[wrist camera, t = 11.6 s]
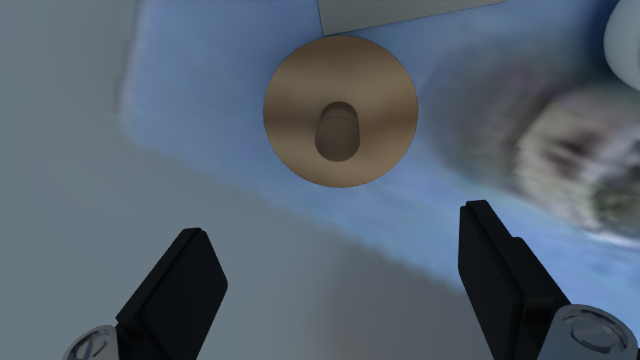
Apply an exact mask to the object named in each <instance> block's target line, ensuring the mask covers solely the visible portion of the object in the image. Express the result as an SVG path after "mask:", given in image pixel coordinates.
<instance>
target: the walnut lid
mask: <svg viewBox="0 0 640 360" xmlns="http://www.w3.org/2000/svg"><path fill="white" fill-rule="evenodd" d="M263 117H264V125H265V130H266V134H267V137H268V140H269V142H270V144H271V146H272V148H273V150H274V151H275V153H276V154H277V156H278V157H279V159H280V160H281V161H282V162H283V163H284V164H285V165H286V166H287V167H288V168H289V169H290V170H291V171H293V172H294V173H295V174H297V175H298V176H300V177H302V178H304V179H305V180H308V181H310V182H312V183H315V184H319V185H322V186H328V187H338V188H343V187H353V186H358V185H362V184H365V183H368V182H370V181H373V180H375V179H377V178H379V177H380V176H382V175H384V174H385V173H386V172H388V171H389V170H390V169H392V168H393V167H394V166H395V165H396V164H397V163H398V162H399V161H400V159H401V158H402V157H403V156H404V154H405V153H406V151H407V149H408V148H409V146H410V144H411V142H412V139H413V137H414V134H415V130H416V126H417V120H418V103H417V96H416V92H415V88H414V86H413V83H412V81H411V78H410V77H409V75H408V73H407V71H406V70H405V68H404V67H403V66H402V65H401V63H400V62H399V61H398V60H397V59H396V58H395V57H394V56H393V55H392V54H391V53H390V52H388V51H387V50H385V49H384V48H383V47H381V46H380V45H378V44H376V43H374V42H371V41H369V40H366V39H363V38H360V37H354V36H346V35H336V36H328V37H324V38H320V39H316V40H314V41H311V42H309V43H307V44H305V45H303V46H302V47H300V48H298V49H297V50H295V51H294V52H293V53H292V54H290V55H289V56H288V57H287V58H286V59H285V60H284V61H283V62H282V63H281V64H280V66H279V67H278V68H277V70H276V71H275V73H274V74H273V76H272V78H271V80H270V82H269V85H268V88H267V91H266V94H265V99H264V108H263Z"/></svg>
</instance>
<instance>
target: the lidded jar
mask: <svg viewBox="0 0 640 360" xmlns="http://www.w3.org/2000/svg"><path fill="white" fill-rule="evenodd" d="M603 44H604V53H605V57H606V60H607V63H608V65H609V66H610V68H611V70H612V71H613V72H614V74H615V75H616V76H617V77H618V78H619V79H620V80H622V81H623V82H625V83H626V84H628V85H629V86H631V87H632V88H634V89H636V90H638V91H640V0H619V2H618V3H617V5H616V6H615V8H614V10H613V11H612V13H611V15H610V17H609V20H608V22H607V25H606V29H605V33H604V42H603Z"/></svg>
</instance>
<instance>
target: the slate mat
mask: <svg viewBox="0 0 640 360" xmlns="http://www.w3.org/2000/svg"><path fill="white" fill-rule="evenodd" d="M503 1H504V0H318V5H319V12H320V18H321V24H322V31H323V36H326V35H331V34H337V33H342V32H347V31H352V30H358V29H363V28H368V27H373V26H378V25H384V24H389V23H394V22H399V21H404V20H410V19H415V18H420V17H425V16H430V15H436V14H441V13H446V12H451V11H456V10H462V9H467V8H472V7H477V6H482V5H488V4H493V3H498V2H503Z"/></svg>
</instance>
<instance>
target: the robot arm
mask: <svg viewBox="0 0 640 360" xmlns="http://www.w3.org/2000/svg"><path fill="white" fill-rule="evenodd" d="M458 270H459V275H460V277H461V280H462V282H463V285H464V287H465V290H466V292H467V295H468V297H469V299H470V302H471V304H472V307H473V309H474V312H475V314H476V316H477V319H478V321H479V324H480V326H481V329H482V331H483V334H484V336H485V339H486V341H487V343H488V346H489V348H490V351H491V353H492V356H493V358H494V360H640V349H639V348H638V345H637V340H636V338H635V336H634V334H633V333H632V331H631V330H630V329H629V328H628V327H627V326H626V325H625V324H624V323H623V322H622V321H620V320H619V319H617V318H616V317H615V316H613V315H611V314H609V313H607V312H605V311H603V310H601V309H598V308H595V307H592V306H588V305H581V304H571V303H570V301H569V300H568V299H567V297H566V296H565V295H564V293H563V292H562V291H561V289H560V288H559V287H558V285H557V284H556V283H555V281H554V280H553V279H552V277H551V276H550V275H549V273H548V272H547V271H546V269H545V268H544V267H543V265H542V264H541V263H540V261H539V260H538V259H537V257H536V256H535V255H534V253H533V252H532V251H531V249H530V248H529V247H528V245H527V244H526V243H525V241H524V240H523V239H522V238H520V237H512V236H511V234H510V233H509V232H508V230H507V229H506V227H505V226H504V225H503V223H502V222H501V220H500V219H499V218H498V216H497V215H496V213H495V212H494V211H493V209H492V208H491V206H490V205H489V203H488V202H487V201H486V200H476V201H467V202H466V206H461V208H460V224H459V251H458ZM227 287H228V283H227V279H226V277H225V274H224V272H223V270H222V268H221V265H220V263H219V261H218V258H217V256H216V254H215V251H214V249H213V247H212V245H211V242H210V240H209V238H208V236H207V233H206V232H205V231H202V229H201V228H188V229H183V230H182V231H181V233H180V234H179V235H178V237H177V238H176V239H175V240H174V242H173V243H172V244H171V246H170V247H169V248H168V250H167V251H166V252H165V254H164V255H163V256H162V257H161V259H160V260H159V261H158V263H157V264H156V265H155V267H154V268H153V269H152V271H151V272H150V273H149V274H148V276H147V277H146V278H145V280H144V281H143V282H142V283H141V285H140V286H139V287H138V289H137V290H136V291H135V293H134V294H133V295H132V297H131V298H130V299H129V300H128V302H127V303H126V304H125V306H124V307H123V308H122V309H121V311H120V312H119V313H118V315H117V316H116V320H117V321H118V322H119V323H118V324H117V325H116V327H113V326H112V325H102V326H98V327H96V328H93V329H91V330H89V331H88V332H86V333H84V334H83V335H81V336H80V337H79V338H78V339H76V340H75V341H74V342H73V343H72V344H71V345H70V347H69V348H68V349H67V350H66V352H65V354H64V355H63V358H62V360H196V359H197V356H198V354H199V352H200V350H201V347H202V345H203V343H204V340H205V338H206V336H207V334H208V332H209V329H210V327H211V325H212V322H213V320H214V318H215V315H216V313H217V311H218V309H219V307H220V305H221V302H222V300H223V298H224V295H225V293H226V291H227Z"/></svg>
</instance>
